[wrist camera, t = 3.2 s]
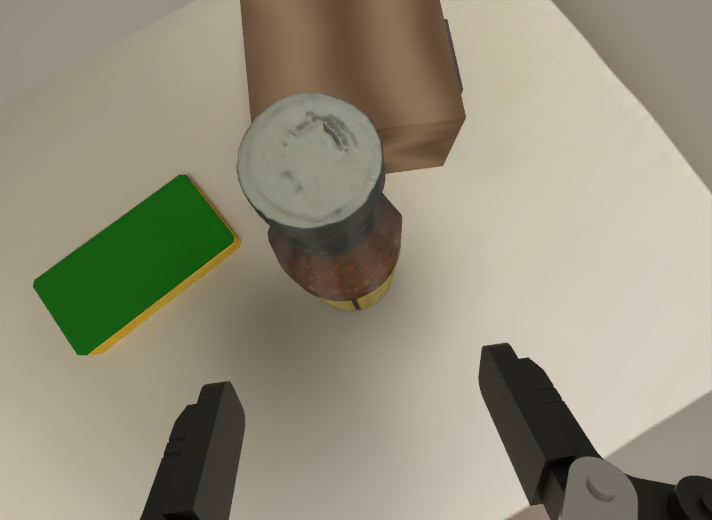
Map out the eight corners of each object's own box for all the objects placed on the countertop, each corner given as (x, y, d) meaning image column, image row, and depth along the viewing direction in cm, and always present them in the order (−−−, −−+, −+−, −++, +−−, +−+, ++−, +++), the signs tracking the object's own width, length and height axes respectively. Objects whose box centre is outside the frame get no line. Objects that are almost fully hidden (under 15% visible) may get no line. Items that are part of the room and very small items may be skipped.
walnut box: (277, 188, 31) (253, 146, 24) (264, 64, 33) (239, -6, 26) (452, 164, 31) (478, 115, 24) (426, 43, 33) (443, -33, 26)
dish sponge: (55, 286, 30) (29, 282, 27) (195, 183, 31) (182, 171, 29) (101, 356, 29) (78, 358, 26) (244, 245, 30) (235, 238, 28)
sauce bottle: (383, 229, 30) (426, 32, 10) (397, 306, 29) (474, 243, 9) (304, 242, 30) (196, 65, 10) (314, 319, 28) (212, 284, 9)
